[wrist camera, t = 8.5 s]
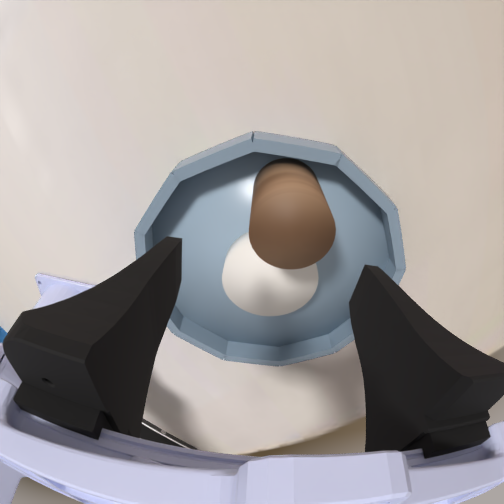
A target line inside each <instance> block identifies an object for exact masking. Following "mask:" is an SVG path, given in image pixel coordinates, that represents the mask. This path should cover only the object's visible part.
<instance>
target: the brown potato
mask: <svg viewBox="0 0 504 504" xmlns="http://www.w3.org/2000/svg"><path fill="white" fill-rule="evenodd" d="M335 235H336V225H335V220H334V218H333V215H332V213H331V210H330V208H329V205H328V203H327V200H326V198H325V196H324V193H323V191H322V189H321V186H320V184H319V182H318V179H317V177H316V175H315V173H314V171H313V170H312V169H311V168H310V167H309V166H308V165H307V164H305V163H303V162H302V161H299V160H297V159H292V158H281V159H276V160H273V161H271V162H269V163H268V164H266V165H265V166H264V167H263V168H262V169H261V170H260V171H259V172H258V174H257V176H256V178H255V181H254V186H253V195H252V204H251V213H250V222H249V240H250V244H251V246H252V248H253V250H254V251H255V253H256V254H257V255H258V256H259V257H260V258H261V259H262V260H263V261H265V262H266V263H268V264H270V265H272V266H274V267H277V268H281V269H301V268H305V267H308V266H310V265H312V264H314V263H316V262H318V261H319V260H321V259H322V258H323V257H324V256H325V255H326V254H327V253H328V251H329V250H330V249H331V247H332V245H333V242H334V240H335Z"/></svg>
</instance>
